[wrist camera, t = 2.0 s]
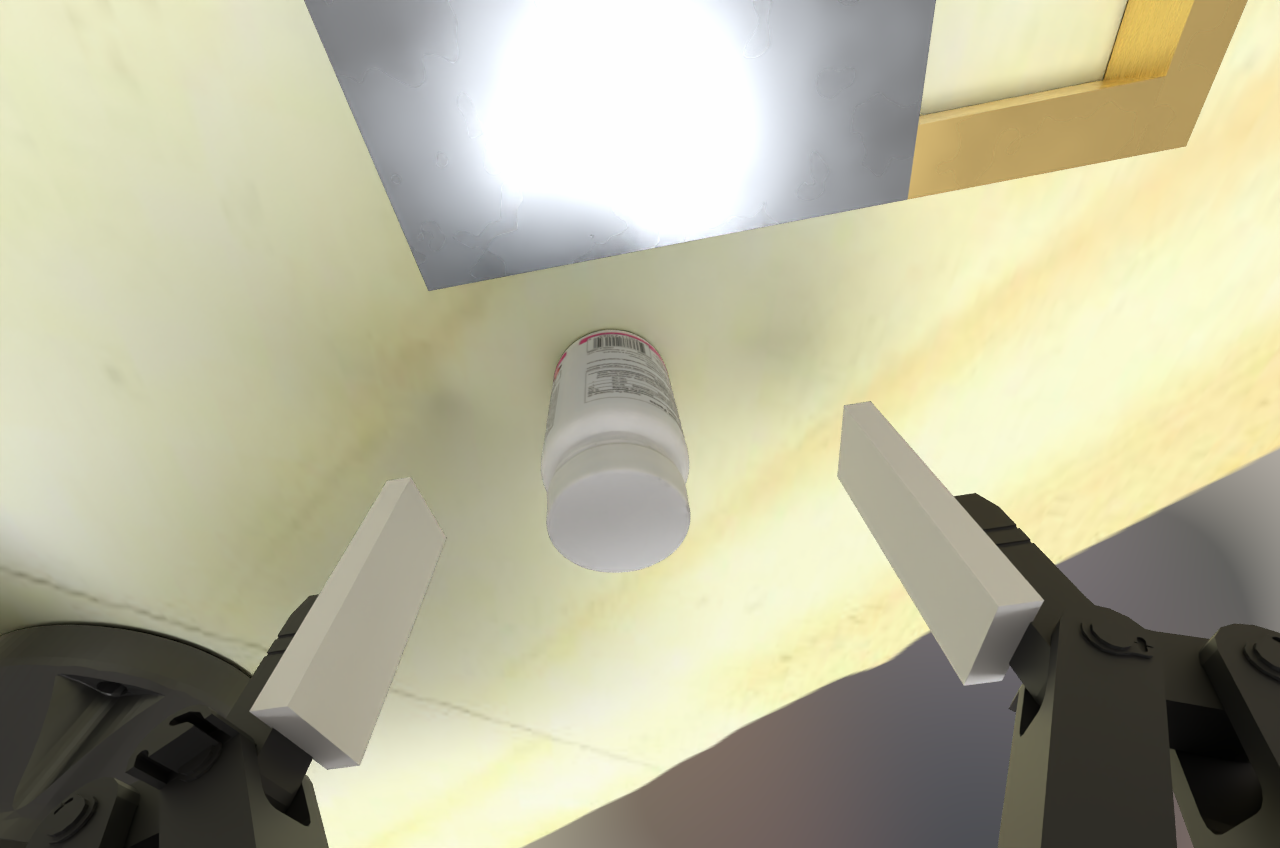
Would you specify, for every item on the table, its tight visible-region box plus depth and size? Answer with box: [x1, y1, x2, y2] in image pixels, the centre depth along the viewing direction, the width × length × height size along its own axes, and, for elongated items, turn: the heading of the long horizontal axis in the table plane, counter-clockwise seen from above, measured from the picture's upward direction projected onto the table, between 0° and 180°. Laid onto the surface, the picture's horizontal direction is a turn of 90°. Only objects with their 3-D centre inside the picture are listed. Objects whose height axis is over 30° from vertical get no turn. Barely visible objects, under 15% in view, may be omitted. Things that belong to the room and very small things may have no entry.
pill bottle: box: [541, 330, 690, 572], centre depth 16 cm, size 5×5×8 cm
